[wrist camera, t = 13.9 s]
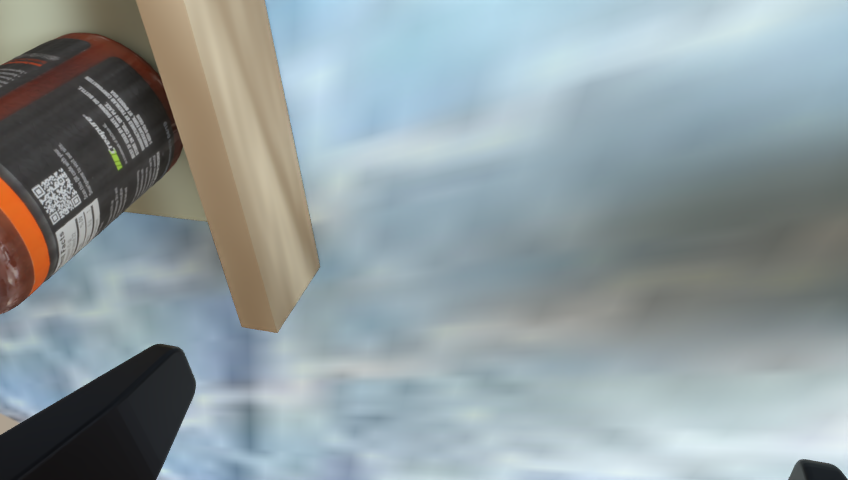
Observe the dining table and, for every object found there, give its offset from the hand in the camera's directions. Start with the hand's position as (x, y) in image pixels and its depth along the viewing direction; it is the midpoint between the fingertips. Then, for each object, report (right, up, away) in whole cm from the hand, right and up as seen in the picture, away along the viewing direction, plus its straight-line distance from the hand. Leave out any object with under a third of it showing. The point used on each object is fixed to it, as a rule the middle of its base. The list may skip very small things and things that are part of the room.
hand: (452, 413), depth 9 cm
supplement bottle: (-12, +8, +15) cm, 21 cm away
